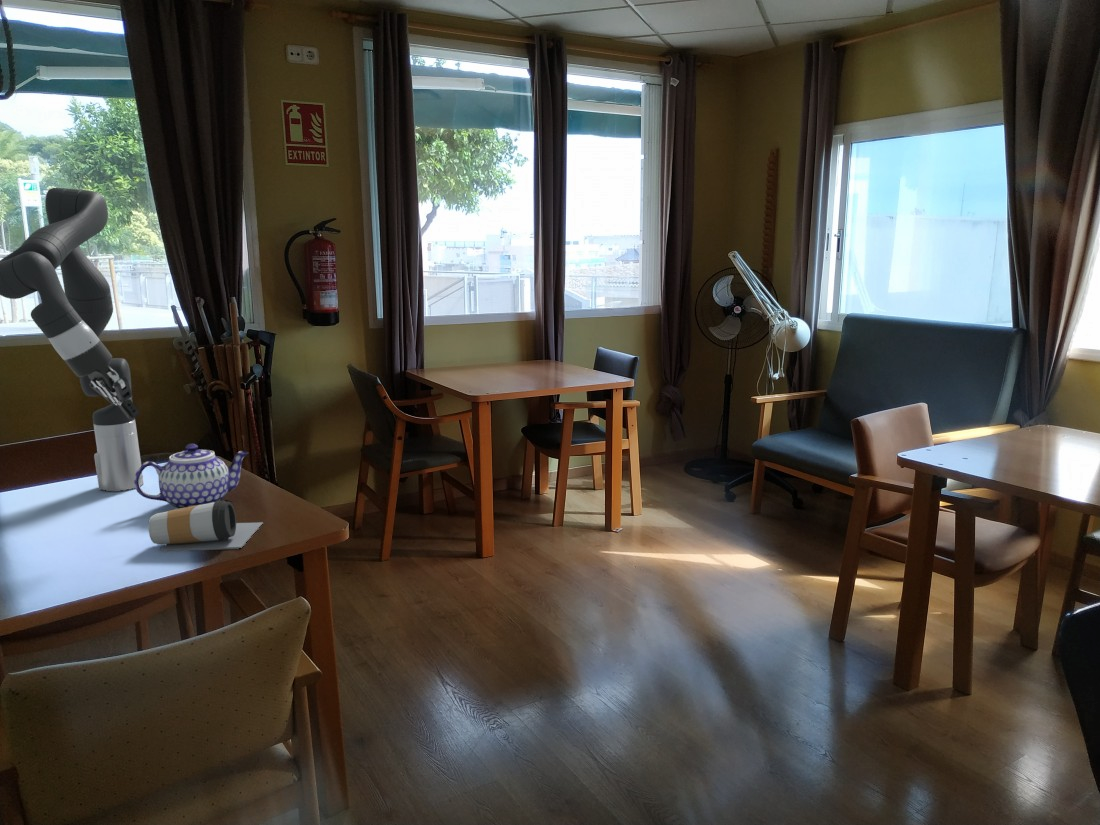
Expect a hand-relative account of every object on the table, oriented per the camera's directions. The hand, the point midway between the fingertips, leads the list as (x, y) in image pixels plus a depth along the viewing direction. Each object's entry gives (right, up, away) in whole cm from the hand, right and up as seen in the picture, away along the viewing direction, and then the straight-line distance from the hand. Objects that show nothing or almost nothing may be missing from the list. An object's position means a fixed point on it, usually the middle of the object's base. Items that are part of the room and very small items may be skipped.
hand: (134, 416), depth 158 cm
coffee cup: (+7, -23, -5) cm, 25 cm away
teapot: (+4, -21, +21) cm, 30 cm away
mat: (+17, -26, 0) cm, 31 cm away
